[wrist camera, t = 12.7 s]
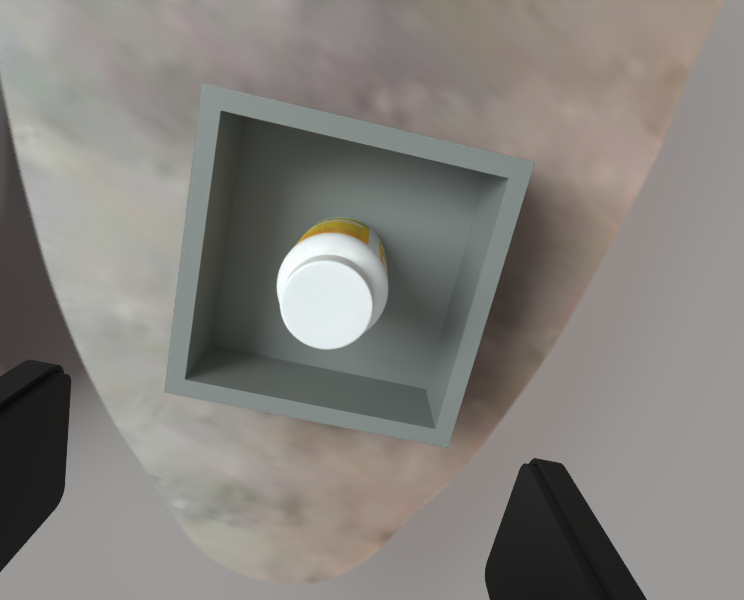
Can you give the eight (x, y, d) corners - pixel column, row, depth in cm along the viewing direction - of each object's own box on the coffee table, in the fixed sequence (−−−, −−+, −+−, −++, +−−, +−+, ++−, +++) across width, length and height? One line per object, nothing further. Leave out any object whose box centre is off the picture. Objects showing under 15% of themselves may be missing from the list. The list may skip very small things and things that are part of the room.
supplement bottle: (403, 264, 31) (416, 315, 22) (337, 318, 32) (322, 389, 23) (345, 195, 30) (332, 218, 20) (278, 253, 31) (237, 300, 21)
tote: (234, 96, 29) (201, 82, 23) (502, 160, 30) (534, 161, 24) (199, 350, 33) (164, 392, 28) (434, 398, 34) (448, 447, 29)
